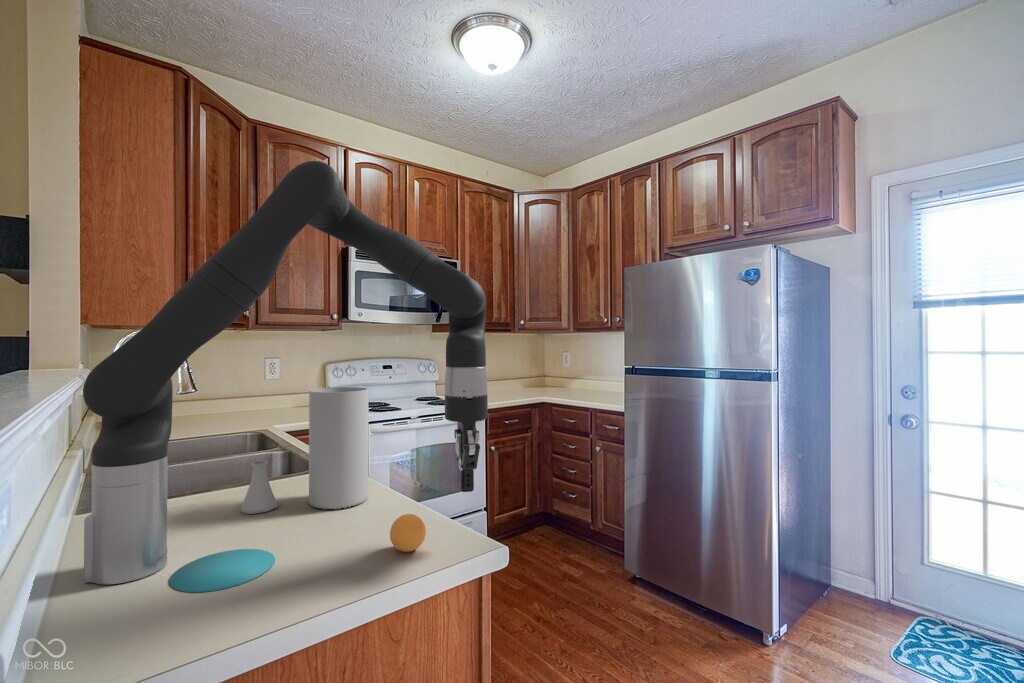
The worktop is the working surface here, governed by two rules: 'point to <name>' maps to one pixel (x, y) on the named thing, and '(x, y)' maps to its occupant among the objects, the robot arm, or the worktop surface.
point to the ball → (407, 532)
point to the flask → (259, 491)
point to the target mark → (222, 570)
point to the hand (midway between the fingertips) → (466, 490)
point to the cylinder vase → (338, 447)
